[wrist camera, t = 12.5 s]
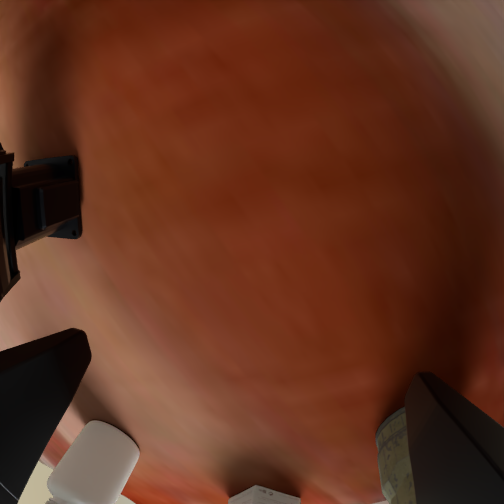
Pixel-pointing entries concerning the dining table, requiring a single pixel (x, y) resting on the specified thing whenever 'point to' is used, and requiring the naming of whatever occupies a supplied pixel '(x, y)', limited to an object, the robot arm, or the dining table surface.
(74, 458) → the pill bottle
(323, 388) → the dining table surface
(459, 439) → the robot arm
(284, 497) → the supplement box
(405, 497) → the thermos
